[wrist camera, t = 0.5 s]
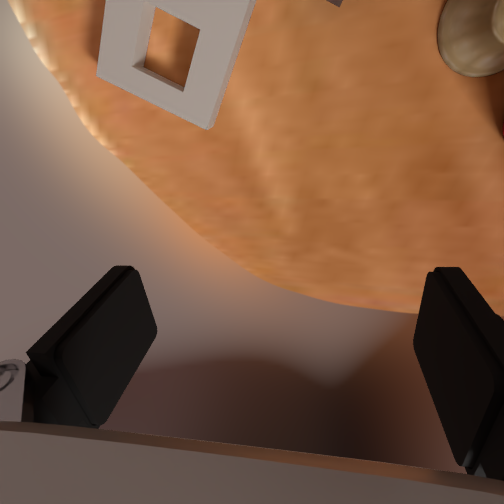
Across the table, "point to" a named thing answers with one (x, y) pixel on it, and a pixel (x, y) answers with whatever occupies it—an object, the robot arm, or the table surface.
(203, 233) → the table surface
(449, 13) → the hand bell
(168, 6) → the plate
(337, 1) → the block
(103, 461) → the robot arm
